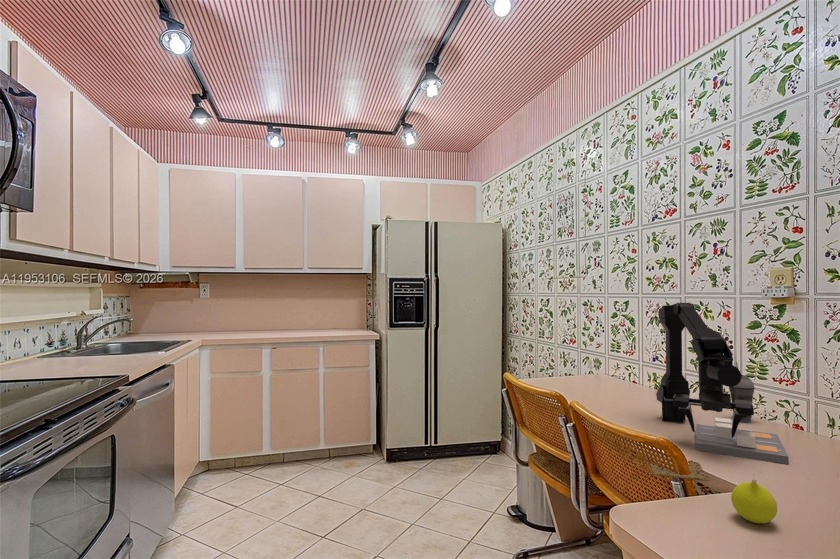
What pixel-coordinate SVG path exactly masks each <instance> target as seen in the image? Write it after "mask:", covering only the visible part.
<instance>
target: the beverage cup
mask: <svg viewBox="0 0 840 559" xmlns="http://www.w3.org/2000/svg"><path fill="white" fill-rule="evenodd" d="M735 367H737V368H738V369H739V364H738V361H735ZM741 375H742V378H741V381H740V382H739V384H737V385H736V386H732V387H728V389H729V390H728V391H729V392H730V393H729V394H730V396H731V402H732V403H735V400H745V401H750V402H751V403H752V404H753V398H754V393H755V389H756V388H755V384H754V382H753V381H752V379H751V378H750V377H749V376H747V375H743V374H741ZM752 416H753V415H748V417H747V418H742V420H741V421H740V423H742V424H750V423H752V419H753V418H752Z"/></svg>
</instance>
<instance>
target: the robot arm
mask: <svg viewBox="0 0 840 559" xmlns="http://www.w3.org/2000/svg"><path fill="white" fill-rule="evenodd" d="M657 315H658V316H657V317H658V318H659V323H660V325H661V326H662V328H663V329H664V330H665V373H664V375H662V377H661V379H660V385H659V387H658V389H657V392H656V393H655V394H656V400H657V401H658V402H659V403H660V404H661V415H662V416H661V421H662V422H671V423H678V424H679V423H680V424H684V423H685V421H686V418H687V421H688V423H689V426H690V427H691V431H692V433H696V429H695V428H696V427H695V422H694V416H693V415H694V414H693V411H692V410H693V409H692V406H698V407H700V409H702V410H703V411H704V412H705V411H706V412H707V411H712V412H716V413H722V412H723V409H725V410H732V418H731V421H732V429H731V434H732V438H734V435H735V432H736V430H737V429H738V426H739V424H740V423H741V422H740V421H741V420H742V418H747V417H748V415H752V416H754V415H755V412H754V411H755V409H754V405H753V402H752V403H751V402H750V401H745V400H735V403H732V400H731V393H724V386H725V387H728V388H729V387H732V386H736V385H737V384H739V382H740V381H741V378H742V375H743V374H742V373H741V370H740V368H739V367H738V368H737V367H736V365H733V361H734V358H733V355H734V354H733V353H732V351H731V349H730V347H729V346H728V343H727V341H726V339H725V337H723V336H722V334H720V333H719V332H718V331H716V330H714V329H712V328H709V327H708V325H707V324H706V322H705V321H704V320H703V319H702V317H701V316H700V314H699V312H697V311H696V309H695V305H694V304H693V303H692V302H676V303H673V304H670V305H668V304H667V305H662V306H661V307H660V308H659V309H658V313H657ZM685 328H686V330H687V331H688V333H689V334H690V336H691V337H692V339H691V346H692V350H693V352H694V353H695V356H696V357H695V361H697V363H698V364H697V366H698V368H697V369H698V371H697V372H698V398H690V394H691V390H690V388H689V385H690V383H689V381H688V380H687V379H686V378H685V376H684V375H683V348H682V347H683V345H682V344H683V342H682V341H683V338H682V336H683V334H682V332H683V331H684V329H685Z"/></svg>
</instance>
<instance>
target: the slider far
mask: <svg viewBox="0 0 840 559" xmlns="http://www.w3.org/2000/svg"><path fill="white" fill-rule="evenodd" d="M714 419H715V420H714V421H715V423H714V424H715V426H716V423H724V424H732V418H731V419H730V418H723V417H714Z"/></svg>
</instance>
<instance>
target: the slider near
mask: <svg viewBox="0 0 840 559" xmlns="http://www.w3.org/2000/svg"><path fill="white" fill-rule="evenodd" d="M736 443H737V446H743V447H750V448H756V444H755V435H754V433H751V432H744V431H736Z"/></svg>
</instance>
